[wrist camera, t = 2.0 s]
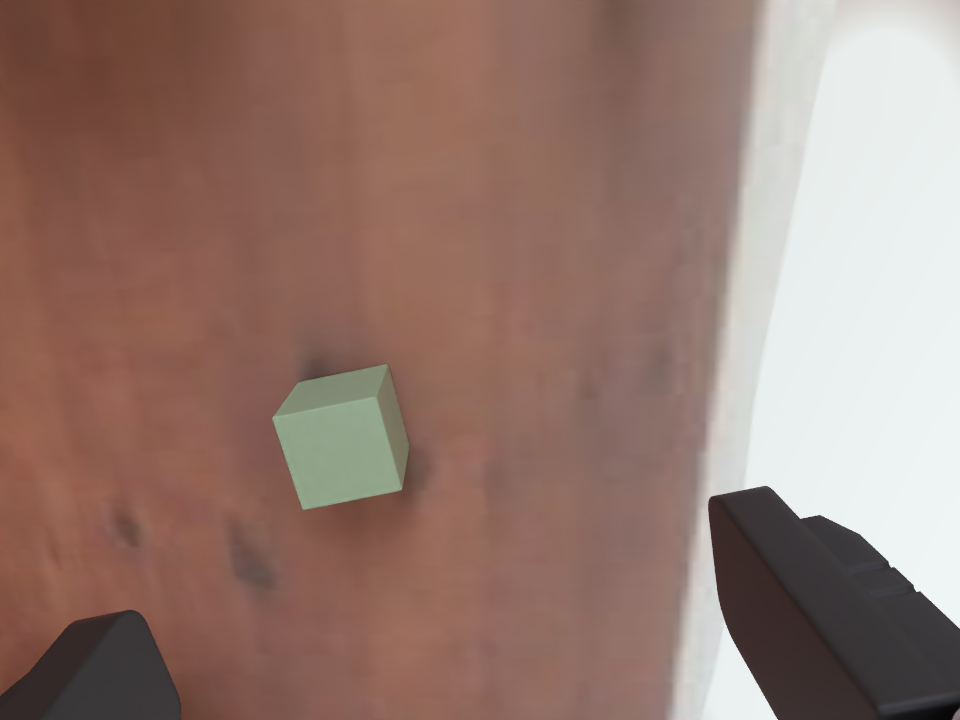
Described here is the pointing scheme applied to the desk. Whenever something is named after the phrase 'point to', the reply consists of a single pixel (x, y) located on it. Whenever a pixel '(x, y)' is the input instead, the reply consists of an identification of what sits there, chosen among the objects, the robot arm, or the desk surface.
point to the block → (343, 437)
